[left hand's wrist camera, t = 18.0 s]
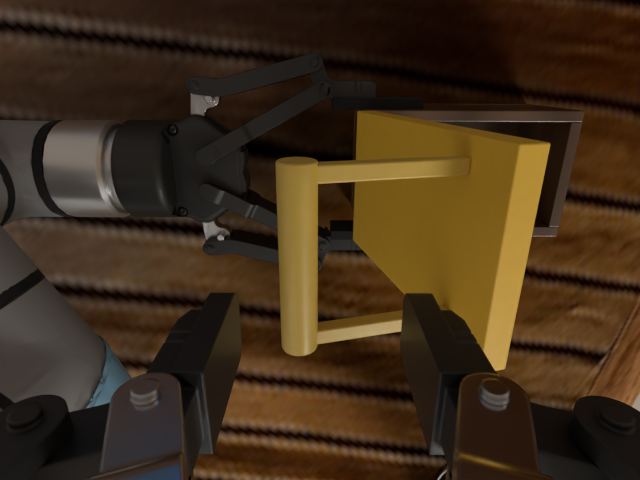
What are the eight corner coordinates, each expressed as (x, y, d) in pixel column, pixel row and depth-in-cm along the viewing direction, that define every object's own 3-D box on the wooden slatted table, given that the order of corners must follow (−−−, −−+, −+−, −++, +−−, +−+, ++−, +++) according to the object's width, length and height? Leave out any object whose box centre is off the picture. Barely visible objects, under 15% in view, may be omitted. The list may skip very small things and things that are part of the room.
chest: (526, 103, 37) (585, 110, 29) (508, 204, 40) (557, 236, 32) (354, 103, 37) (364, 109, 29) (351, 204, 40) (359, 236, 32)
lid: (551, 142, 14) (290, 152, 12) (505, 369, 17) (296, 409, 15) (374, 110, 28) (241, 112, 26) (368, 238, 32) (250, 249, 29)
